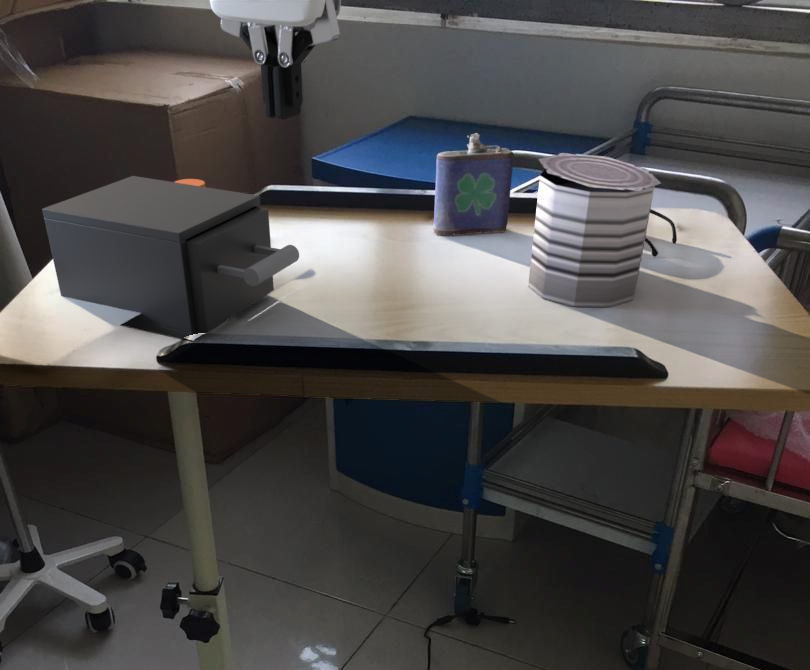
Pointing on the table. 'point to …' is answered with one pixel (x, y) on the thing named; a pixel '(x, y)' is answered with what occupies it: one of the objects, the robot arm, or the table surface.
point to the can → (589, 229)
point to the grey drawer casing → (137, 247)
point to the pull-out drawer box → (233, 266)
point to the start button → (192, 182)
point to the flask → (472, 189)
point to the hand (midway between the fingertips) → (283, 115)
